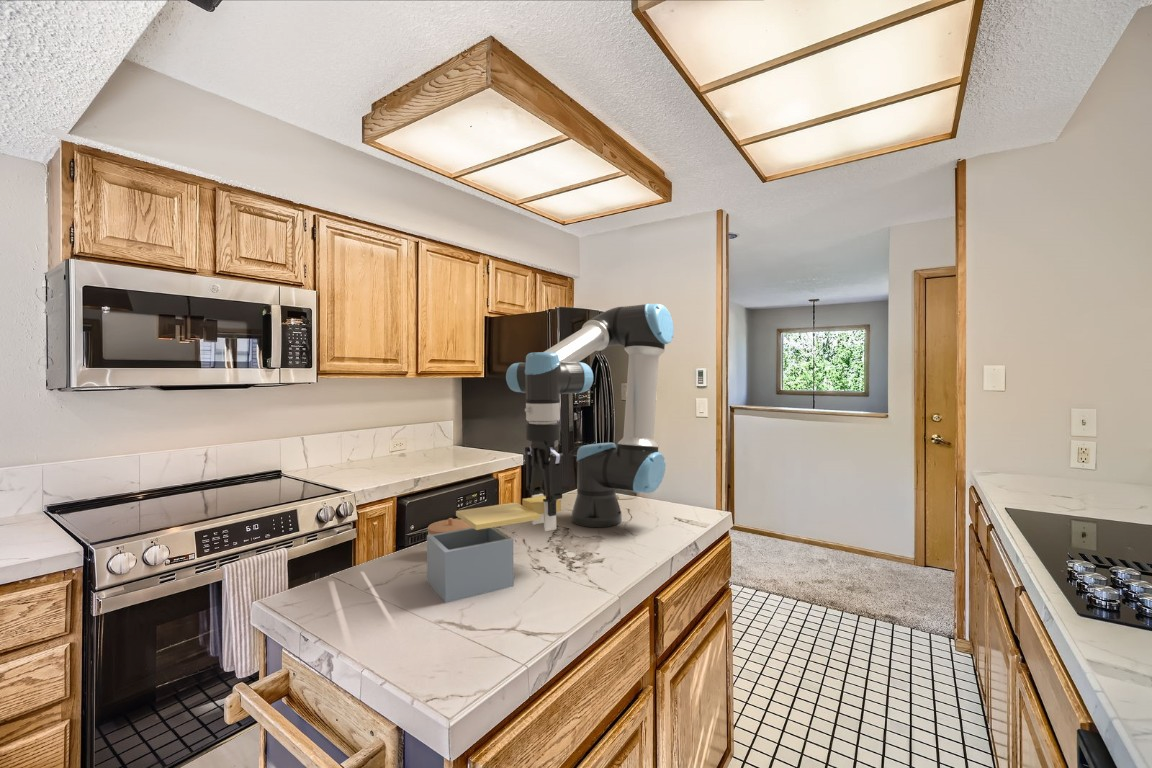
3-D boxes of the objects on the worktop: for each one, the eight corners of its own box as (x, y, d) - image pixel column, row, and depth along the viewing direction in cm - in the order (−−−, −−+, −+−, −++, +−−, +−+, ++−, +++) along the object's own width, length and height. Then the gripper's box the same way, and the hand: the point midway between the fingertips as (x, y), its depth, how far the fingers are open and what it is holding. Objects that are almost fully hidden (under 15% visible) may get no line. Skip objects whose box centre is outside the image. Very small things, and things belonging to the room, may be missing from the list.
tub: (490, 573, 113) (490, 524, 113) (513, 593, 103) (513, 539, 103) (427, 588, 106) (426, 535, 106) (445, 610, 96) (445, 552, 96)
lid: (542, 502, 120) (542, 492, 120) (569, 514, 110) (569, 502, 110) (456, 515, 109) (455, 504, 109) (476, 530, 99) (476, 517, 99)
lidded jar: (462, 566, 118) (461, 526, 117) (419, 563, 120) (419, 523, 120) (480, 550, 128) (479, 513, 128) (440, 548, 130) (440, 511, 130)
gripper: (510, 419, 119) (511, 519, 119) (547, 426, 103) (548, 540, 104) (538, 418, 123) (539, 514, 123) (579, 424, 107) (579, 534, 108)
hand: (543, 526), depth 114 cm, fingers closed on lid, 5 cm apart
